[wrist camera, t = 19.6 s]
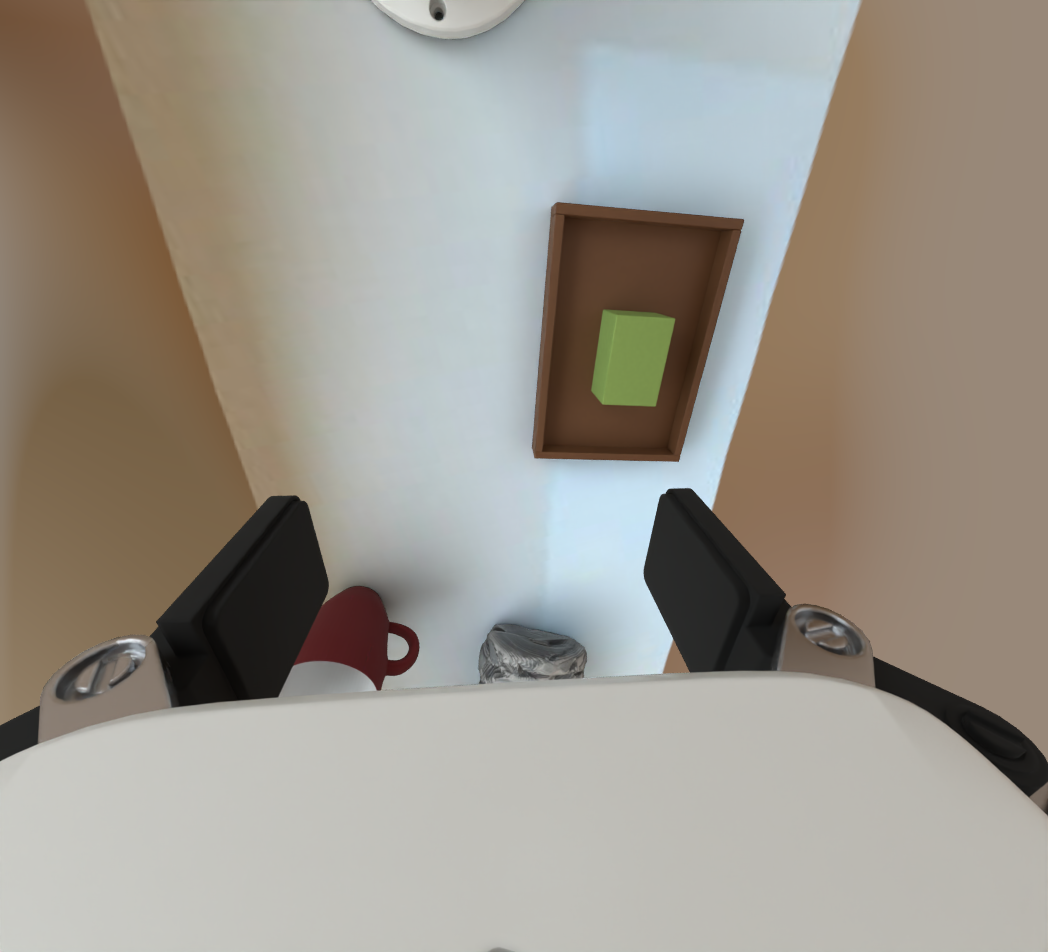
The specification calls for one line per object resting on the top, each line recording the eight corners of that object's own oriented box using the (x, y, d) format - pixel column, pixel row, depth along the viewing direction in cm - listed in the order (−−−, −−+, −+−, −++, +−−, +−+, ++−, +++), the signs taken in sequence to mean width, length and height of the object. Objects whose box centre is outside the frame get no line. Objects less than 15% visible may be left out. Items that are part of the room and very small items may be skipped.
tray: (551, 206, 26) (556, 202, 24) (727, 222, 27) (744, 219, 25) (531, 447, 34) (534, 458, 32) (668, 451, 35) (678, 461, 33)
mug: (429, 574, 40) (412, 663, 31) (424, 631, 43) (408, 726, 34) (315, 566, 38) (264, 657, 29) (320, 626, 42) (276, 723, 33)
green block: (602, 309, 29) (616, 314, 26) (656, 312, 29) (676, 318, 26) (590, 391, 31) (602, 404, 28) (639, 393, 32) (656, 406, 29)
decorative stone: (512, 738, 48) (508, 815, 38) (441, 651, 47) (418, 707, 37) (609, 668, 47) (631, 728, 37) (539, 578, 46) (542, 615, 36)
